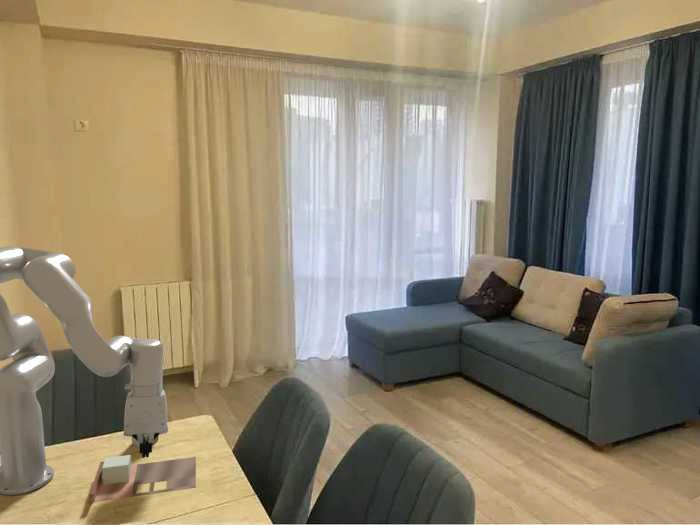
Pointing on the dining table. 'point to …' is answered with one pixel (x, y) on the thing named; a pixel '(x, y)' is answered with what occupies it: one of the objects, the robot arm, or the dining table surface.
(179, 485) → the track
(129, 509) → the dining table surface
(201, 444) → the dining table surface
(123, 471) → the sage block
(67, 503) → the dining table surface
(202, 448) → the dining table surface
